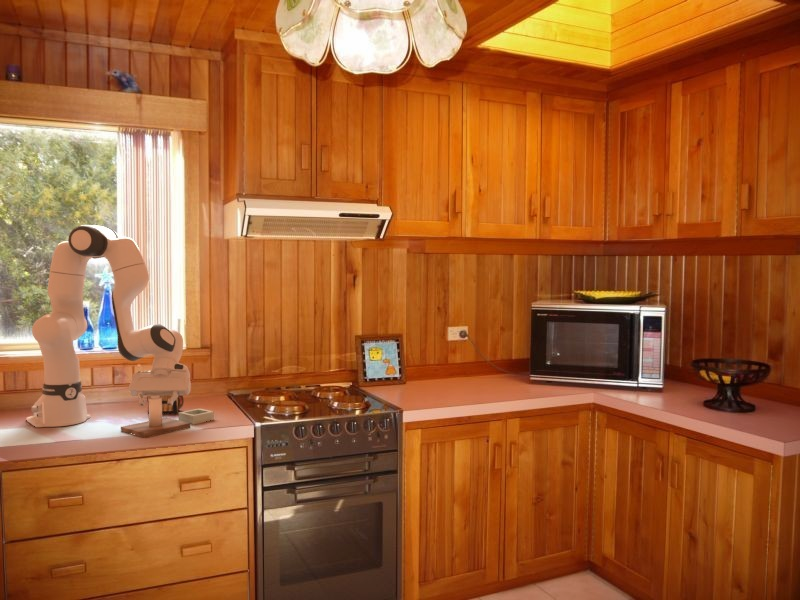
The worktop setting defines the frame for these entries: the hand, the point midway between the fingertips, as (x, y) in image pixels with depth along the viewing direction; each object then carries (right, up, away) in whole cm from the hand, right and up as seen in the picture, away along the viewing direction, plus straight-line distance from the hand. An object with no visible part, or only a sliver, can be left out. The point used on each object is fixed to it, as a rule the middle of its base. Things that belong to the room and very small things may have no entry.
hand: (155, 404), depth 218 cm
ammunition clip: (-6, -7, +24) cm, 26 cm away
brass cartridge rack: (-8, -7, +30) cm, 32 cm away
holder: (+10, -8, +13) cm, 18 cm away
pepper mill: (0, -7, 0) cm, 7 cm away
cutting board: (0, -8, 0) cm, 8 cm away
